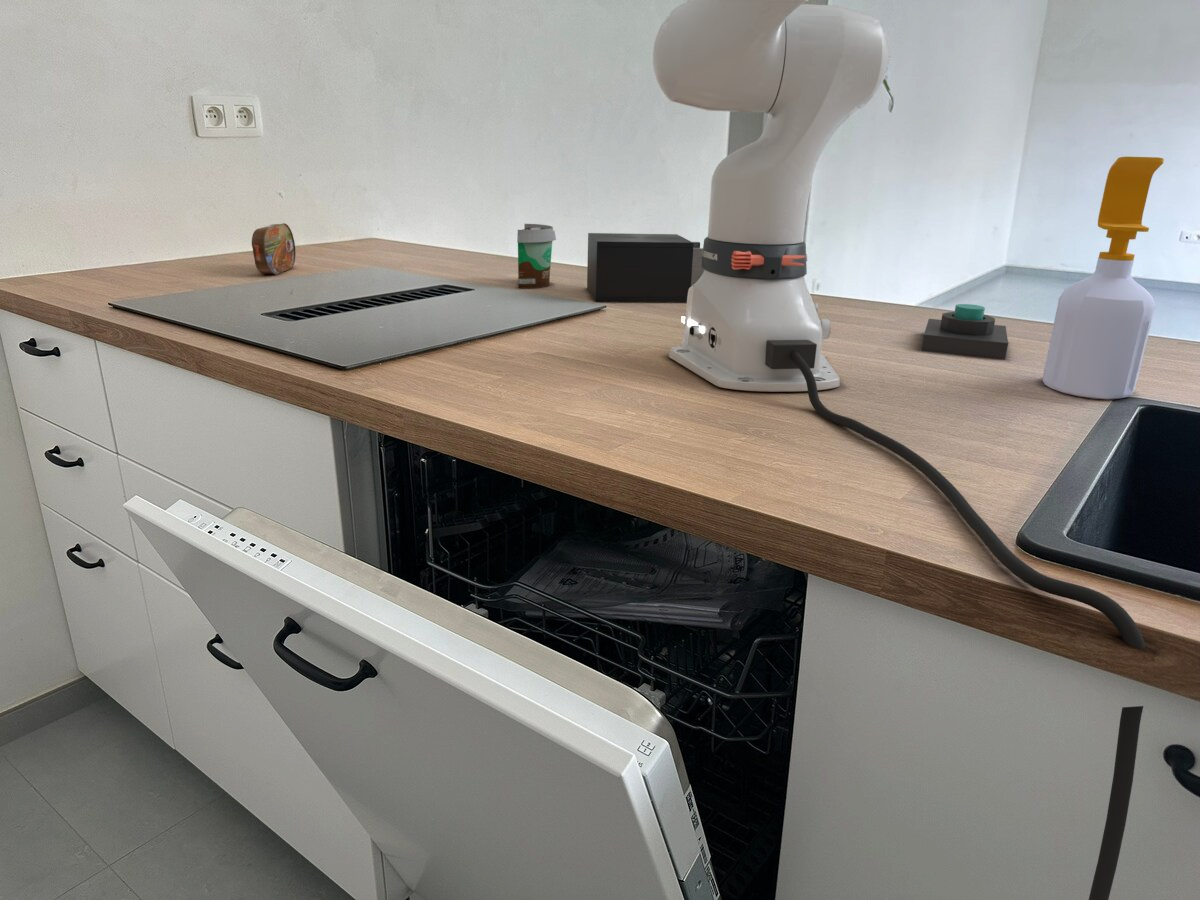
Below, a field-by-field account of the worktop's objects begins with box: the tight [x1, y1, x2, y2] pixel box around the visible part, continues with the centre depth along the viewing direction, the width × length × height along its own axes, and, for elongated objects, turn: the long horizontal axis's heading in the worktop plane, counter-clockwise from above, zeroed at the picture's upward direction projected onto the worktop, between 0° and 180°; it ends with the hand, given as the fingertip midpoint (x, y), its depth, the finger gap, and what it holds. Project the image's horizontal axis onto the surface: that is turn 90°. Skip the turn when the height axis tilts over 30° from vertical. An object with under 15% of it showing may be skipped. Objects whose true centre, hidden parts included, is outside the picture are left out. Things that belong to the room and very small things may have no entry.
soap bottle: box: [1042, 156, 1165, 400], centre depth 92 cm, size 9×9×25 cm
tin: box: [251, 222, 297, 276], centre depth 158 cm, size 15×3×8 cm, turn 179°
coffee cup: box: [516, 223, 557, 289], centre depth 152 cm, size 12×6×10 cm, turn 179°
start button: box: [953, 303, 986, 320], centre depth 113 cm, size 4×4×2 cm
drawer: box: [691, 241, 704, 287], centre depth 145 cm, size 19×11×8 cm, turn 97°
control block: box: [921, 311, 1009, 361], centre depth 114 cm, size 12×10×4 cm
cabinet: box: [586, 232, 694, 303], centre depth 144 cm, size 16×13×10 cm
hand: (734, 37), depth 124 cm, fingers open, 8 cm apart
